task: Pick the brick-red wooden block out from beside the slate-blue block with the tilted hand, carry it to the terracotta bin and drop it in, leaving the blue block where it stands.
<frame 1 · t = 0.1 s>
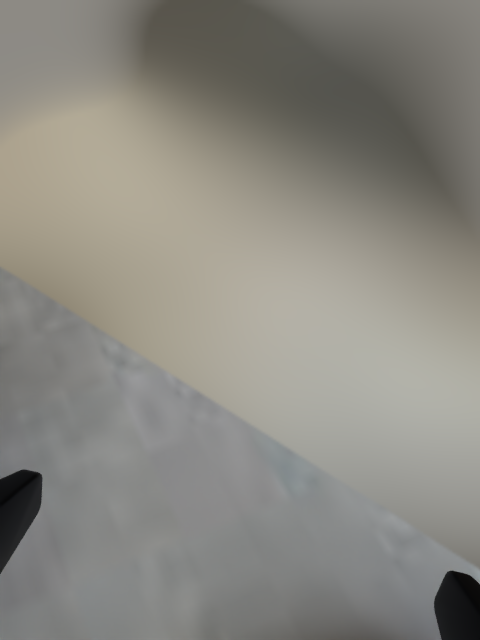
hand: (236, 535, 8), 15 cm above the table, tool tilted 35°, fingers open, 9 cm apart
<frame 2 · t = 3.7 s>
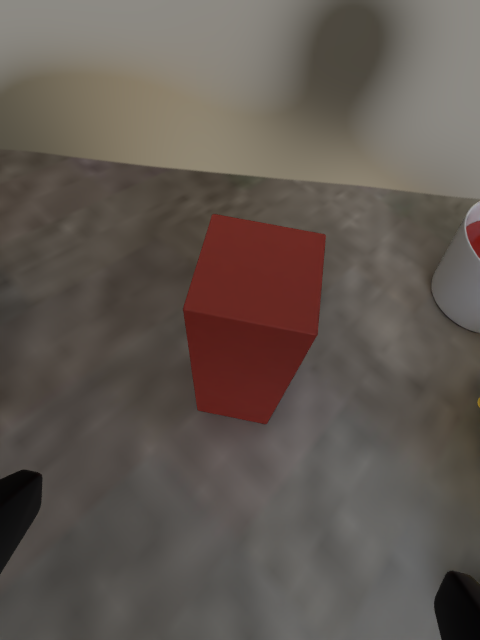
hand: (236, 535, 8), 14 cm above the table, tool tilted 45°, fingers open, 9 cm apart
candle: (470, 299, 28), on the table
red block: (238, 384, 23), on the table
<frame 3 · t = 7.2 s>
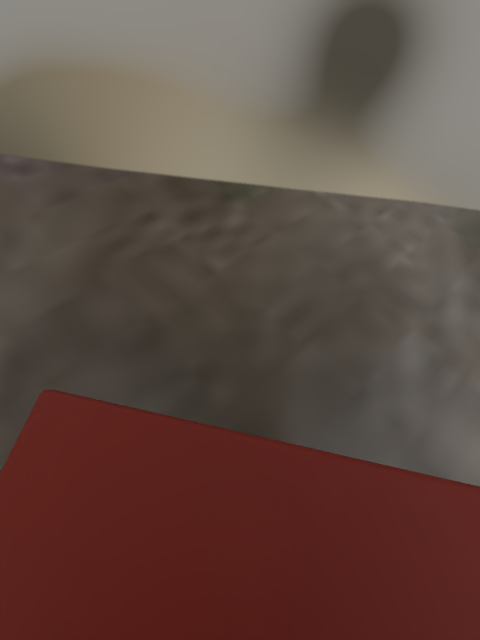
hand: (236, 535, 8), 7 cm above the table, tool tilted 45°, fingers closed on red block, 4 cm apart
red block: (217, 572, 13), on the table, touching gripper
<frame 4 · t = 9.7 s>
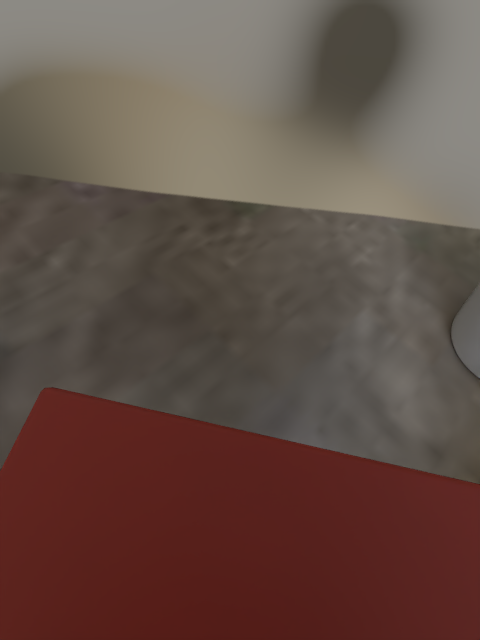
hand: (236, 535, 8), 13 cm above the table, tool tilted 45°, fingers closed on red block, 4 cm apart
red block: (217, 572, 13), point 7 cm above the table, touching gripper
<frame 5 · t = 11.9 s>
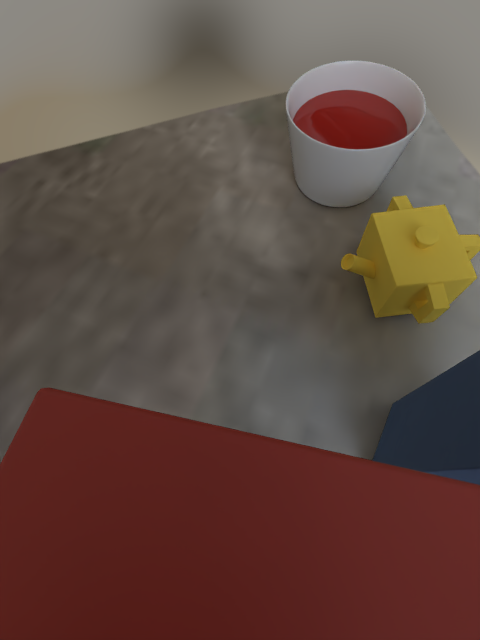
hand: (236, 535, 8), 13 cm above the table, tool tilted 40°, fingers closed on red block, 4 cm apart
blue block: (419, 457, 20), on the table
candle: (336, 178, 29), on the table
red block: (216, 572, 13), point 7 cm above the table, tilted 9°, touching gripper
toy block: (388, 286, 25), on the table
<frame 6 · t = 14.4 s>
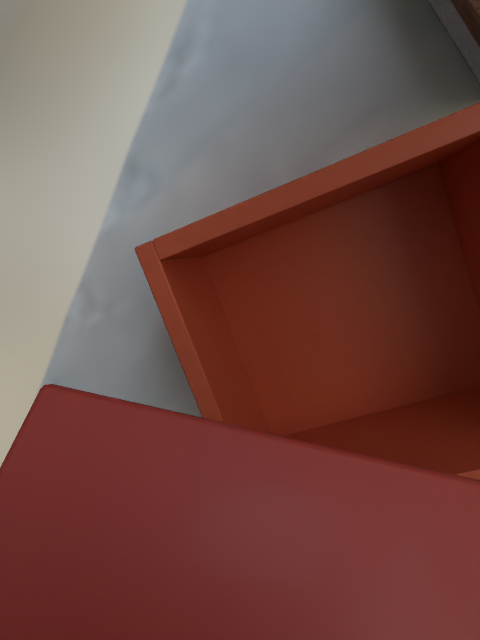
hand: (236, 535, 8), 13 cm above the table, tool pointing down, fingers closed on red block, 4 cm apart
red bin: (344, 315, 19), on the table
red block: (217, 571, 13), point 9 cm above the table, tilted 43°, touching gripper
when the fingers open (10 cm above the table, at t = 16.6 s): red block drops 2 cm and tips over, resting on red bin.
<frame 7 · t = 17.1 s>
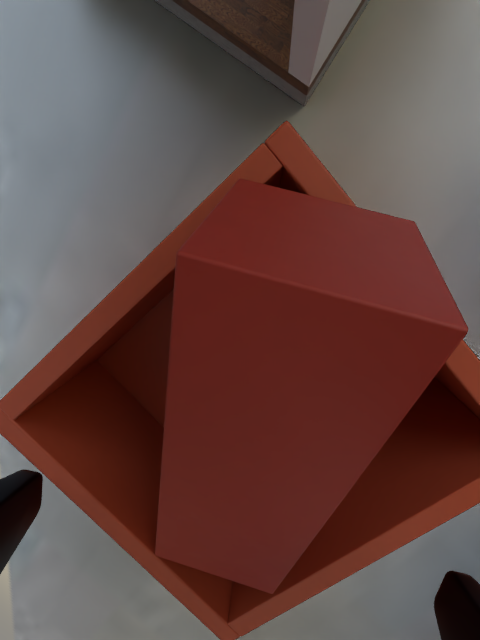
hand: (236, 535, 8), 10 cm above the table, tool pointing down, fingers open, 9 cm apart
red bin: (258, 363, 18), on the table
red block: (227, 512, 15), point 5 cm above the table, tilted 68°, touching red bin
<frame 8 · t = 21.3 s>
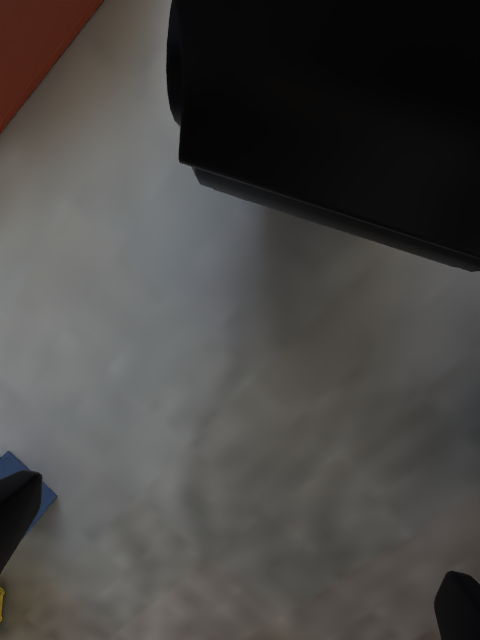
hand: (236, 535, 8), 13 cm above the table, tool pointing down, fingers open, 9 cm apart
blue block: (13, 490, 25), on the table
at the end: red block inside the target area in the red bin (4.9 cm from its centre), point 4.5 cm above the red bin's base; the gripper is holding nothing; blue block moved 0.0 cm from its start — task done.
